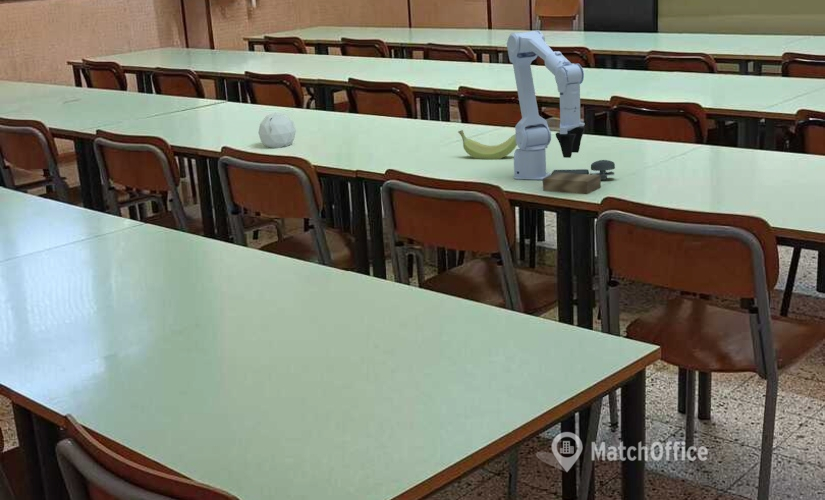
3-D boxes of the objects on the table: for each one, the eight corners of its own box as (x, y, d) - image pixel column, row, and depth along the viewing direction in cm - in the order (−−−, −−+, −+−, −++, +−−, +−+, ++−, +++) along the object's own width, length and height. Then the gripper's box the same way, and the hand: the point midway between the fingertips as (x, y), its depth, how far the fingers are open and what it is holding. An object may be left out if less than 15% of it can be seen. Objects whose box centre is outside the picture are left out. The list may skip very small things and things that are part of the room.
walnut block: (543, 192, 309) (542, 178, 308) (557, 185, 316) (556, 172, 315) (587, 195, 301) (587, 181, 300) (600, 188, 308) (600, 175, 307)
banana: (502, 173, 355) (449, 146, 359) (506, 169, 360) (454, 143, 364) (518, 137, 350) (465, 110, 353) (522, 134, 355) (470, 108, 358)
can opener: (615, 178, 320) (615, 157, 318) (614, 182, 315) (614, 160, 314) (552, 178, 325) (552, 158, 323) (550, 182, 320) (549, 161, 319)
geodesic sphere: (294, 153, 396) (291, 114, 392) (256, 155, 396) (252, 117, 393) (299, 146, 410) (296, 109, 407) (263, 148, 411) (259, 111, 407)
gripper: (576, 111, 294) (577, 160, 298) (590, 103, 307) (591, 150, 311) (552, 111, 297) (553, 159, 301) (567, 103, 310) (568, 149, 314)
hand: (571, 154), depth 306 cm, fingers open, 7 cm apart
